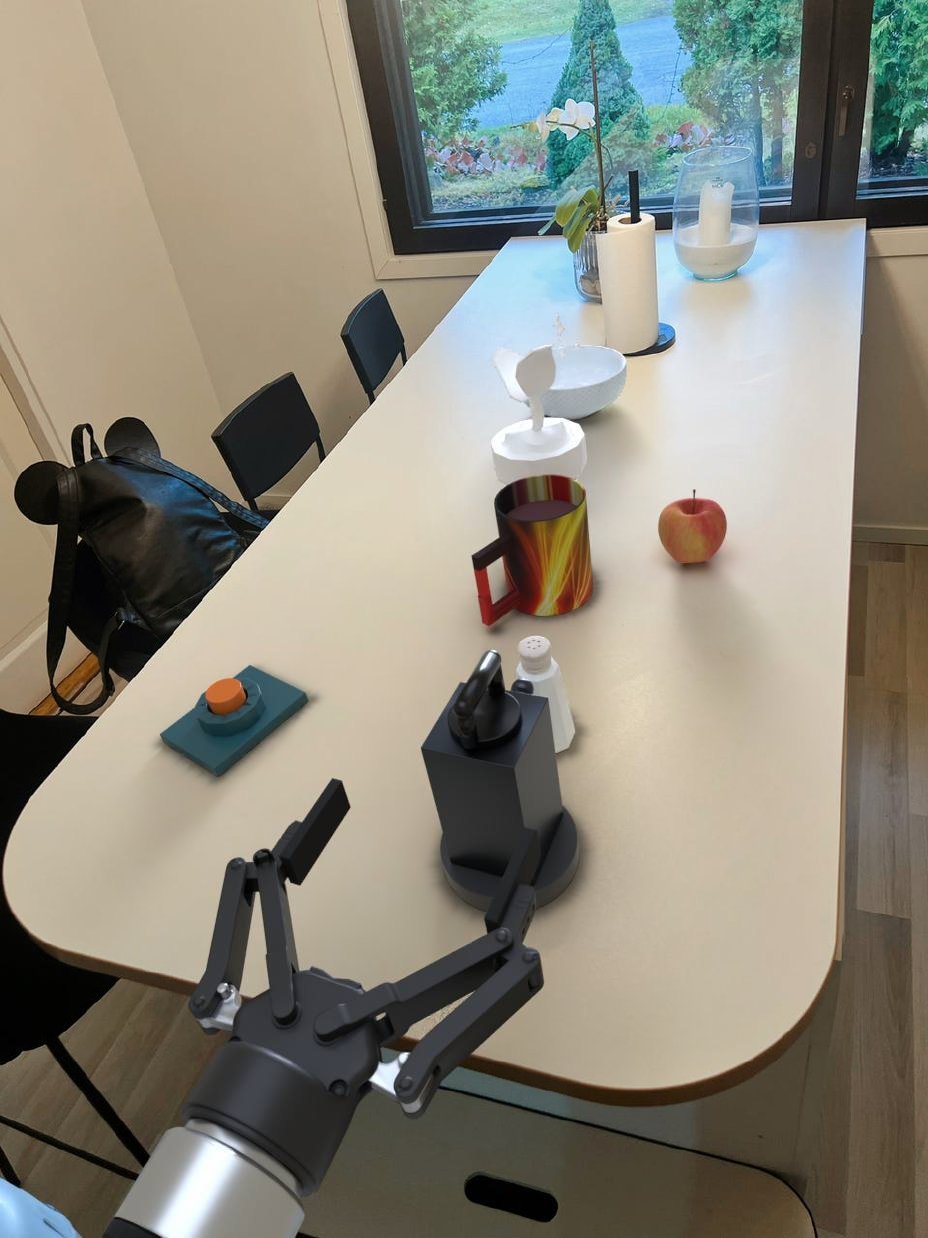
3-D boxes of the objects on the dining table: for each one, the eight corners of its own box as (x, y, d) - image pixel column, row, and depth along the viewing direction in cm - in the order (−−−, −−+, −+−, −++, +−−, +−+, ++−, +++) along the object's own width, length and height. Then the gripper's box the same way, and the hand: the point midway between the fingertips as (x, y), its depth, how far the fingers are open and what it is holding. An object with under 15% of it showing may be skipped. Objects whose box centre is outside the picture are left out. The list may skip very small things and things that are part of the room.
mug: (482, 634, 94) (465, 541, 86) (522, 561, 103) (510, 472, 96) (569, 645, 90) (559, 548, 83) (602, 568, 100) (596, 476, 93)
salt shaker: (516, 718, 83) (501, 628, 76) (573, 712, 82) (563, 621, 76) (518, 760, 79) (502, 668, 72) (578, 754, 78) (568, 661, 71)
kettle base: (491, 941, 65) (487, 925, 64) (420, 845, 73) (415, 830, 72) (607, 865, 68) (606, 849, 67) (528, 782, 76) (525, 766, 75)
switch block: (218, 777, 83) (207, 755, 81) (163, 742, 88) (152, 721, 86) (308, 700, 90) (301, 679, 88) (253, 672, 95) (244, 651, 93)
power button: (226, 720, 85) (220, 707, 84) (203, 707, 87) (197, 695, 86) (253, 698, 87) (248, 685, 86) (231, 686, 89) (225, 673, 88)
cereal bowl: (638, 423, 127) (636, 377, 123) (525, 441, 128) (519, 396, 124) (617, 378, 141) (615, 335, 136) (515, 395, 142) (509, 353, 137)
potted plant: (607, 511, 110) (594, 312, 94) (523, 540, 107) (497, 342, 92) (561, 472, 119) (543, 286, 104) (483, 498, 117) (453, 312, 102)
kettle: (534, 885, 66) (505, 720, 55) (450, 863, 68) (408, 701, 58) (578, 778, 73) (560, 615, 63) (501, 762, 76) (472, 603, 65)
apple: (656, 576, 97) (655, 515, 92) (661, 540, 103) (659, 480, 98) (725, 577, 95) (727, 514, 90) (726, 540, 101) (728, 479, 96)
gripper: (78, 1101, 48) (285, 810, 63) (497, 1307, 38) (626, 904, 53) (17, 1033, 43) (256, 736, 58) (475, 1248, 34) (623, 825, 48)
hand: (433, 816), depth 55 cm, fingers open, 13 cm apart
